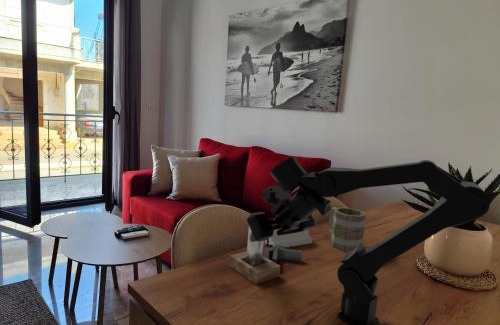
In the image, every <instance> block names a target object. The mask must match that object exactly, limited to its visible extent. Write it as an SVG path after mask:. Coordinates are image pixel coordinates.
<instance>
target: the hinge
mask: <svg viewBox="0 0 500 325" xmlns="http://www.w3.org/2000/svg"><path fill="white" fill-rule="evenodd" d="M274 219H275V218H273V219H272V220H274ZM277 231H278V230H274V232H273V236H272V237H271V238H269V239H268V240H264V244H265V243H266V244H268V245H269V246H272V247H273V246H277V245H282V246H284V247H286V248H291V247H290V246H292V247H297V246H303V245H308V244H312V243H313V238H312V236H311V235H310V232H309V230H305V231H302V232H297V233H291V234H285V235H280V236H278V235H277V233H276V232H277ZM266 244H265V245H266Z"/></svg>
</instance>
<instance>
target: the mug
mask: <svg viewBox="0 0 500 325" xmlns="http://www.w3.org/2000/svg"><path fill="white" fill-rule="evenodd" d="M366 218H367V214H366V213H365V212H364V211H362V210H360V209H356V208H352V207H343V206H342V207H336V206H334V207H331V210H330V211H329V221H328V229H329V232H330V233H331V236H330V240H329V243H330V245H331V247H332V248H333V249H334V248H335V249H338V250H340V251H343V252H347V251H351V250H353V249H355V248H356V247H357V246H358V245H359V244H360V243H362V244H363V240H364V236H365V226H366V224H365V223H366Z"/></svg>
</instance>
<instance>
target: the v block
mask: <svg viewBox="0 0 500 325" xmlns="http://www.w3.org/2000/svg"><path fill="white" fill-rule="evenodd" d="M302 255H303V251H302V250H300V249H299V250H298V249H292V248H291V249H289V248H285V247H284V246H282V245H277V246H273V245H272V246H270V247H266V248H264V250H263V256H264V257H266V258H267V259H269V260H271V261H273V262H274V263H276V264H278V263H277V261H278V260H281V261H282V260H283V261H291V262H298V263H301V262H302Z"/></svg>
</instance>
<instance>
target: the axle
mask: <svg viewBox="0 0 500 325" xmlns="http://www.w3.org/2000/svg"><path fill="white" fill-rule="evenodd" d="M251 233H252V231H251V229H250V227H249V226H248V235H247V246H246V247H247V248H246V251H247V258H246V263H247V264H249V265H251V266H252V267H254V266H258V265H261V264H262V262H263V256H264V250H265V248H264V247H265V240H264V241H255V242H251V240H250V236H251Z"/></svg>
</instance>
